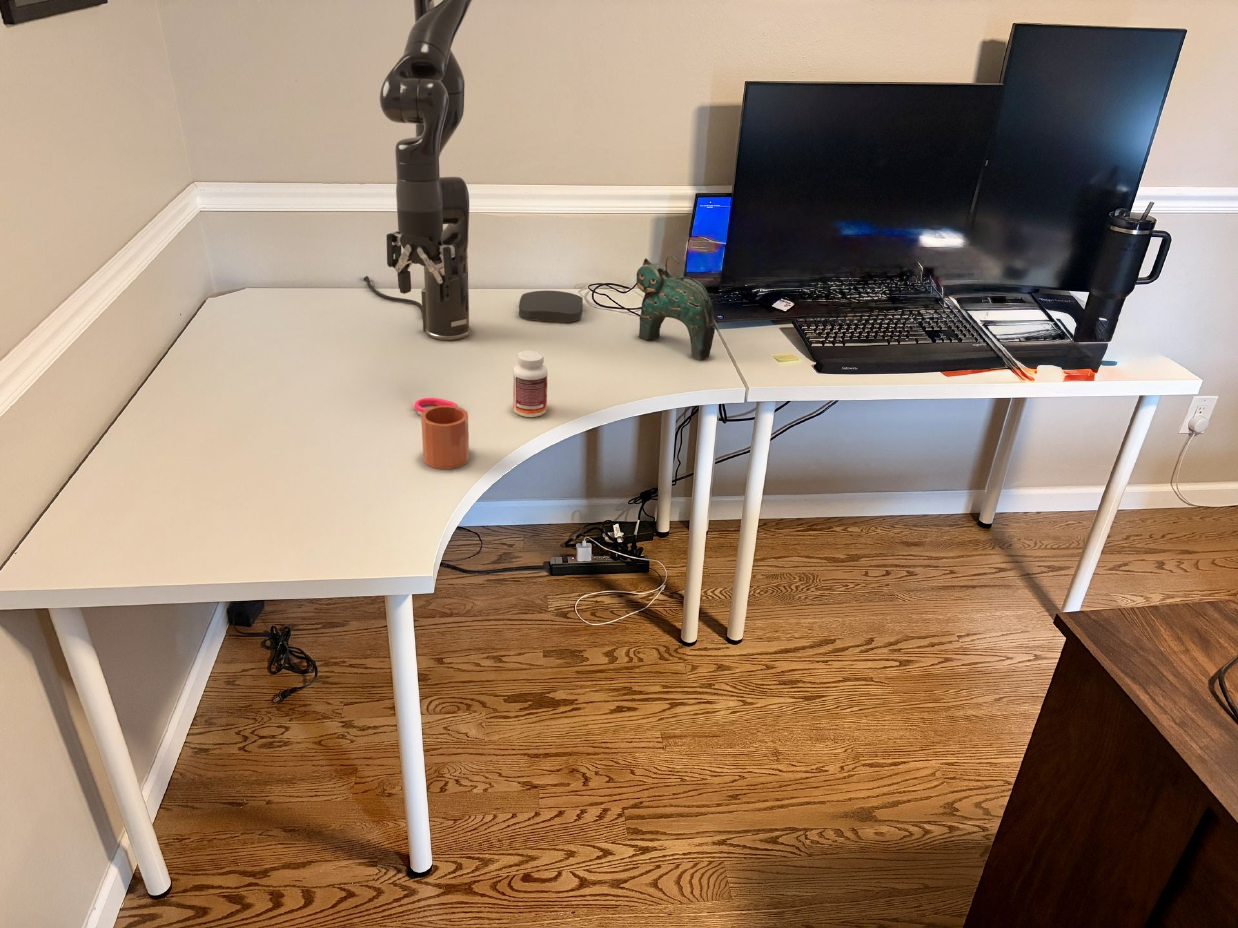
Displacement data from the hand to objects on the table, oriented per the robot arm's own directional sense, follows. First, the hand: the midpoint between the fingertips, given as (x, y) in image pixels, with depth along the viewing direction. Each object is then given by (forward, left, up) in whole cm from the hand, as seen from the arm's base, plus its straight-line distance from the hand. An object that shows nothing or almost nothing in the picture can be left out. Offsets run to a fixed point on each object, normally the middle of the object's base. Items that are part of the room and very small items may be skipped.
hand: (424, 297), depth 160 cm
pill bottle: (+18, +7, -20) cm, 28 cm away
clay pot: (+18, -16, -20) cm, 31 cm away
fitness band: (+5, -4, -20) cm, 21 cm away
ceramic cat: (+23, +53, -20) cm, 61 cm away
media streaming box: (-10, +53, -20) cm, 57 cm away
